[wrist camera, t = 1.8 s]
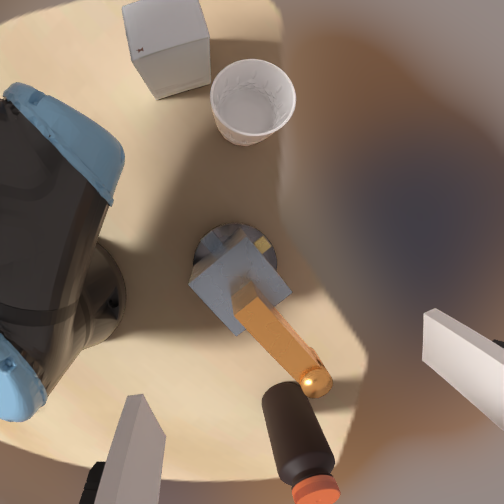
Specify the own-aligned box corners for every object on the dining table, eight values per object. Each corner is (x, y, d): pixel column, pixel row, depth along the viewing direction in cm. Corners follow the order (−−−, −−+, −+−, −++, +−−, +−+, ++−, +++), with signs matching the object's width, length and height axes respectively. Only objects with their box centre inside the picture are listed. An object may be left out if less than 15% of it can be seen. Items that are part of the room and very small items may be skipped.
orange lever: (273, 352, 38) (296, 415, 25) (183, 253, 34) (165, 286, 22) (315, 319, 38) (355, 371, 25) (230, 214, 34) (237, 226, 22)
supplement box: (212, 84, 34) (211, 38, 22) (155, 101, 33) (128, 63, 21) (199, 38, 32) (194, -17, 20) (144, 54, 32) (119, 5, 20)
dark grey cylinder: (229, 316, 40) (233, 349, 31) (177, 258, 37) (166, 277, 29) (290, 267, 39) (310, 288, 30) (240, 205, 37) (247, 209, 28)
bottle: (313, 396, 44) (359, 492, 24) (280, 421, 44) (310, 519, 24) (286, 373, 42) (327, 476, 23) (251, 400, 42) (273, 507, 23)
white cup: (208, 94, 34) (206, 62, 24) (271, 88, 35) (289, 57, 25) (215, 154, 36) (214, 140, 26) (280, 147, 36) (301, 132, 27)
